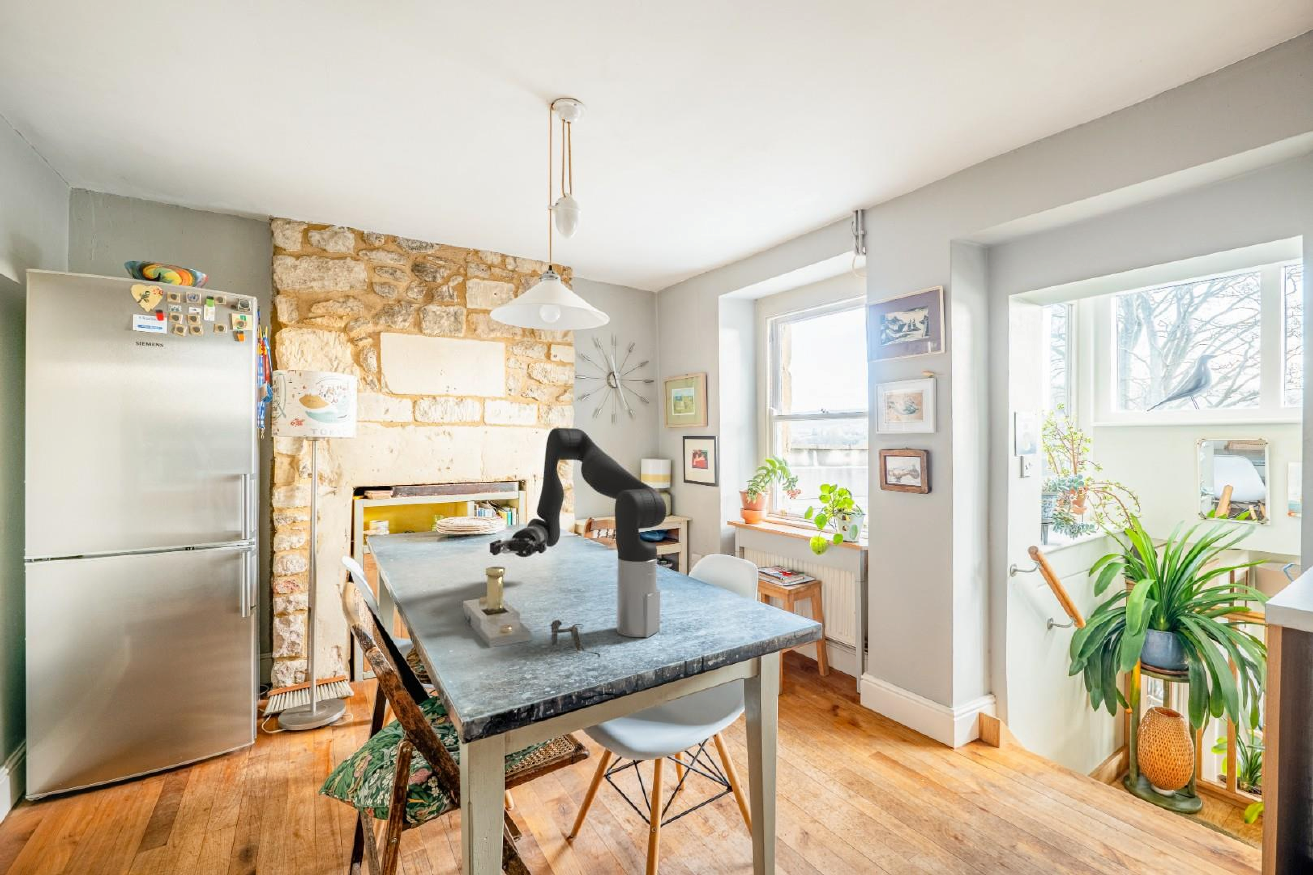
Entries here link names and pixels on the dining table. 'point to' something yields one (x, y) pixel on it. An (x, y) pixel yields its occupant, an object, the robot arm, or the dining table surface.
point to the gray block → (496, 623)
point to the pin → (495, 590)
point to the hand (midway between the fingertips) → (510, 551)
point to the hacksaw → (573, 628)
